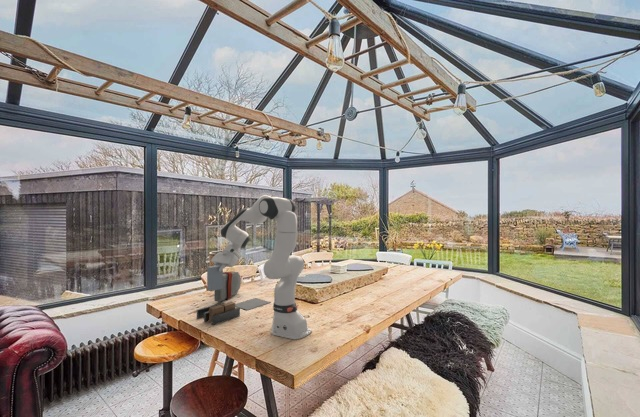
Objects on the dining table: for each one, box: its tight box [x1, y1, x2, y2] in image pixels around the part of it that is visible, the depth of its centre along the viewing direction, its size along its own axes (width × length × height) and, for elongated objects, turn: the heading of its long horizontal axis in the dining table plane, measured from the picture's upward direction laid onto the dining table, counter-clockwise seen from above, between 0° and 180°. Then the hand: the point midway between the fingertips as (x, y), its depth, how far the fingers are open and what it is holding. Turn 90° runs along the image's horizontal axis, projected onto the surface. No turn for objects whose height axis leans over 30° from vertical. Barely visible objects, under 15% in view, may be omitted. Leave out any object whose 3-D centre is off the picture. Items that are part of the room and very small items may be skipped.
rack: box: [196, 301, 241, 326], centre depth 175 cm, size 17×18×5 cm
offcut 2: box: [221, 301, 236, 312], centre depth 176 cm, size 4×7×8 cm, turn 142°
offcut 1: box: [208, 305, 224, 324], centre depth 170 cm, size 4×7×8 cm, turn 142°
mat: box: [235, 297, 272, 311], centre depth 200 cm, size 16×20×1 cm
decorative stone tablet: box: [213, 270, 242, 302], centre depth 214 cm, size 19×6×30 cm
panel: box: [206, 265, 224, 292], centre depth 178 cm, size 4×8×14 cm, turn 142°
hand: (216, 270), depth 178 cm, fingers closed on panel, 4 cm apart
